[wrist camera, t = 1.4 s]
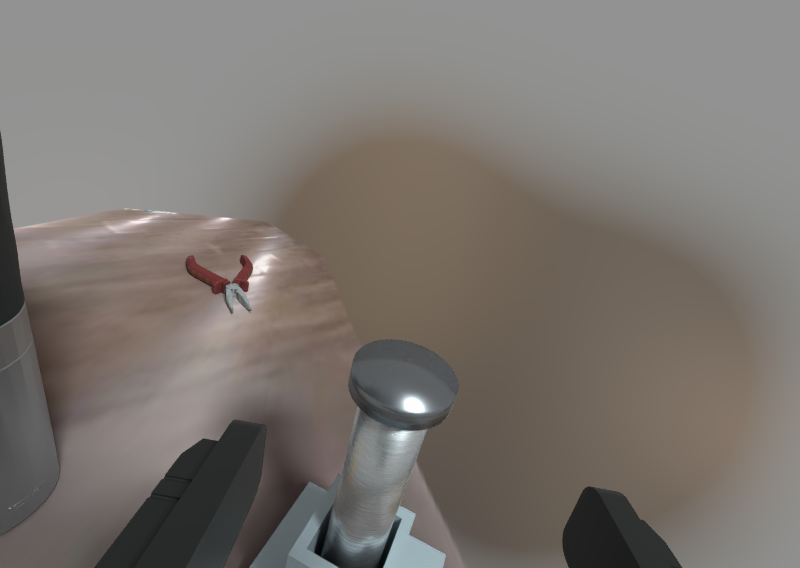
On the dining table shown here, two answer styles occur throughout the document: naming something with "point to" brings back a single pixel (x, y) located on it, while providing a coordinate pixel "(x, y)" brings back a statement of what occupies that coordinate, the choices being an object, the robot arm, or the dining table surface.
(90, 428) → the dining table surface
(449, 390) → the column
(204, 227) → the dining table surface
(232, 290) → the pliers
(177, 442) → the dining table surface
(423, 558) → the stand base
